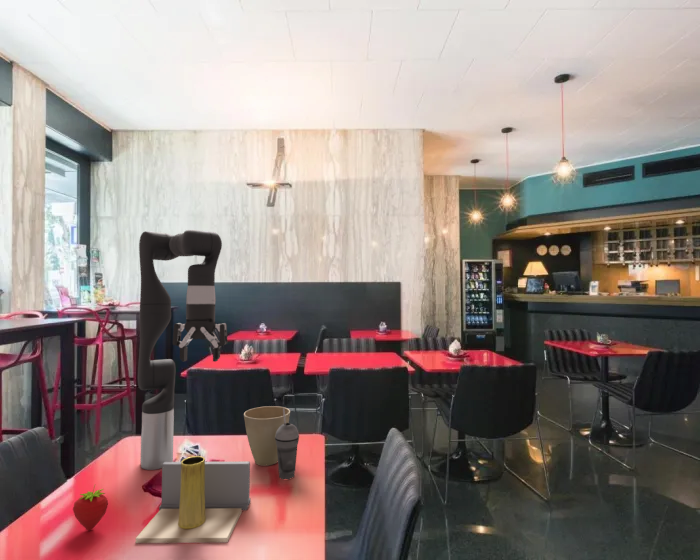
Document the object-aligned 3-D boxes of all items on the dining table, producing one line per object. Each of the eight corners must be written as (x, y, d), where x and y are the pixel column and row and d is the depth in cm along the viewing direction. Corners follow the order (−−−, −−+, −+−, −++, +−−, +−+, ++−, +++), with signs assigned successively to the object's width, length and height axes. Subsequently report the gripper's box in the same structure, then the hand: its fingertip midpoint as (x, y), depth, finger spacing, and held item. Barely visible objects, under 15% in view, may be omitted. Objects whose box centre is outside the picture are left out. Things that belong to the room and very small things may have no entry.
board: (135, 543, 87) (135, 538, 87) (160, 512, 99) (161, 508, 99) (227, 542, 87) (227, 537, 87) (241, 512, 99) (241, 508, 99)
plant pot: (299, 458, 132) (299, 410, 132) (267, 475, 119) (267, 421, 120) (266, 449, 140) (266, 403, 140) (233, 464, 127) (233, 414, 128)
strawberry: (86, 521, 95) (87, 478, 95) (114, 523, 94) (115, 480, 94) (64, 535, 89) (66, 490, 90) (94, 538, 88) (95, 493, 88)
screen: (159, 510, 100) (160, 466, 100) (166, 502, 104) (167, 459, 104) (246, 510, 100) (247, 465, 100) (250, 502, 104) (250, 459, 104)
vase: (211, 518, 94) (212, 457, 95) (191, 532, 89) (192, 467, 89) (192, 512, 97) (193, 453, 97) (171, 525, 91) (173, 462, 92)
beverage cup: (294, 482, 114) (294, 413, 115) (270, 480, 116) (271, 411, 117) (302, 472, 122) (302, 406, 122) (279, 469, 123) (280, 404, 124)
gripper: (169, 302, 106) (168, 363, 105) (222, 302, 106) (221, 363, 105) (180, 302, 113) (179, 359, 113) (230, 302, 114) (229, 359, 113)
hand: (200, 361), depth 109 cm, fingers open, 8 cm apart
